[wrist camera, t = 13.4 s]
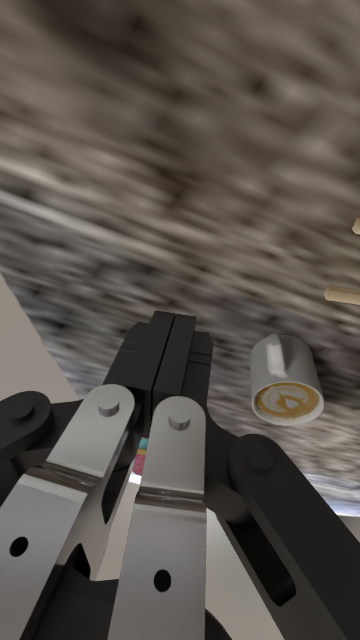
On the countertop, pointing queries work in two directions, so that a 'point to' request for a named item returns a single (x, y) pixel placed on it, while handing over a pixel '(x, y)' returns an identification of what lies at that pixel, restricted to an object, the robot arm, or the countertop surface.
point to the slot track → (340, 292)
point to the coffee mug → (284, 381)
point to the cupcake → (140, 457)
